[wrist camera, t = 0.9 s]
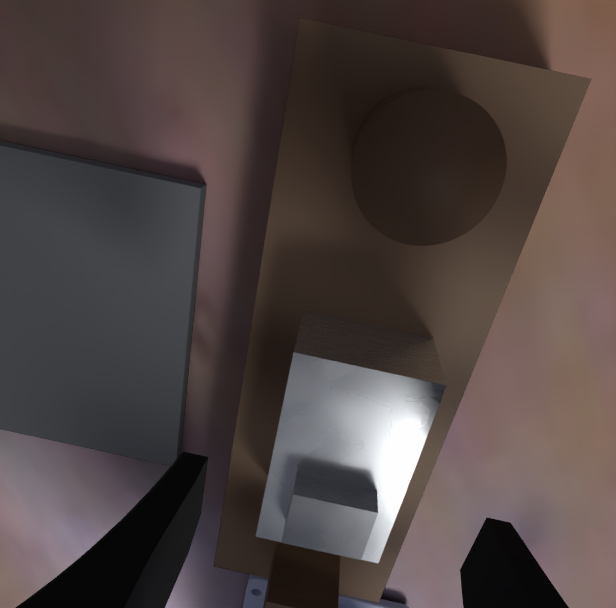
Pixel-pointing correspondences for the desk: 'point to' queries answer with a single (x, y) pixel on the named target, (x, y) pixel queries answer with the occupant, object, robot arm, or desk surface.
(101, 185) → the mat
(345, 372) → the lever cap
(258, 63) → the desk surface
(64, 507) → the desk surface
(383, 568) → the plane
